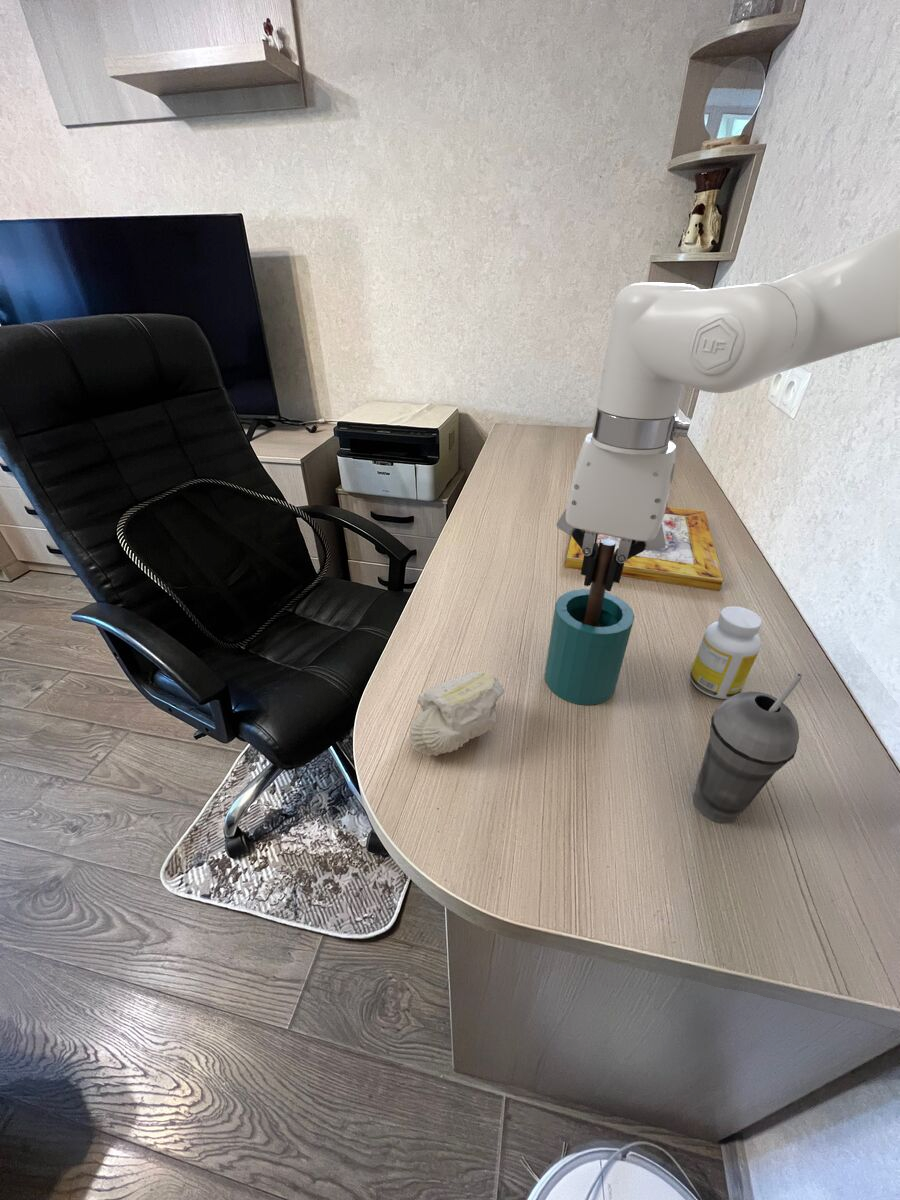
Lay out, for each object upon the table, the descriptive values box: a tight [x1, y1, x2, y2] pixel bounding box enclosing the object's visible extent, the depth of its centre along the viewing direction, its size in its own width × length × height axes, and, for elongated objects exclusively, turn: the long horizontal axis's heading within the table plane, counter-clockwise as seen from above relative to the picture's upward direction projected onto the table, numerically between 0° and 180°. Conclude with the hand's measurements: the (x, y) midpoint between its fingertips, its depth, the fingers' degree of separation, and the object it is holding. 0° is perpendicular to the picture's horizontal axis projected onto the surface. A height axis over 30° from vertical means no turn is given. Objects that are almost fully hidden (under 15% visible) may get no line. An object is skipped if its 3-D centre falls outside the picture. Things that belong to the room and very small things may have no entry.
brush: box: [578, 539, 616, 627], centre depth 62 cm, size 5×5×17 cm
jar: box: [544, 588, 635, 706], centre depth 66 cm, size 10×10×12 cm
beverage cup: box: [692, 672, 804, 825], centre depth 48 cm, size 7×7×20 cm
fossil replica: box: [409, 671, 505, 757], centre depth 59 cm, size 12×8×10 cm
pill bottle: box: [689, 605, 763, 700], centre depth 66 cm, size 6×6×12 cm
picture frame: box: [564, 506, 724, 592], centre depth 103 cm, size 27×2×30 cm
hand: (599, 582), depth 61 cm, fingers closed on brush
